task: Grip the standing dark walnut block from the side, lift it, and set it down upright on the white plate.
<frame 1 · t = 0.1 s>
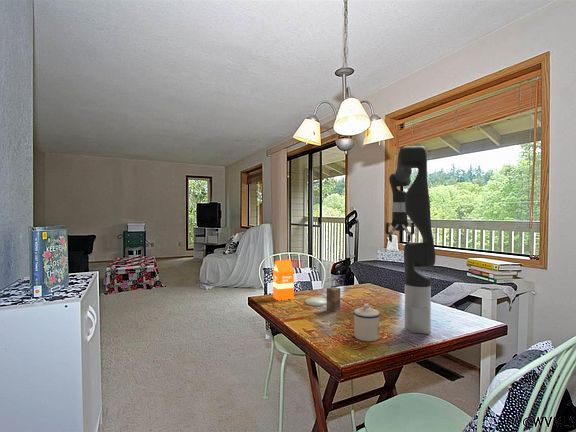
hand: (399, 242, 164), 29 cm above the table, tool pointing down, fingers open, 8 cm apart
teacup with lid: (364, 335, 115), on the table
walnut block: (333, 309, 145), on the table
orange juice: (283, 298, 165), on the table
white plate: (316, 302, 156), on the table
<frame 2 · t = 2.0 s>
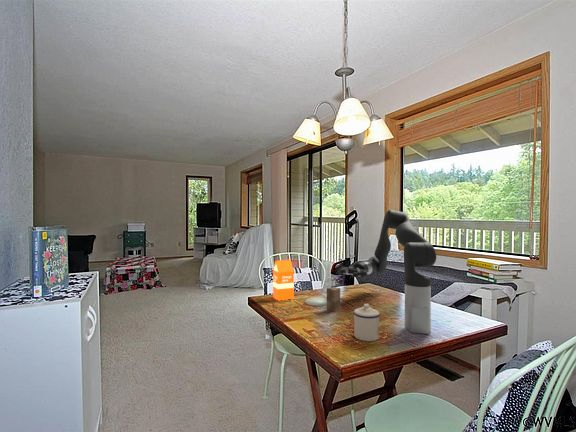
hand: (346, 273, 153), 15 cm above the table, tool horizontal, fingers open, 8 cm apart
nothing on the table moved.
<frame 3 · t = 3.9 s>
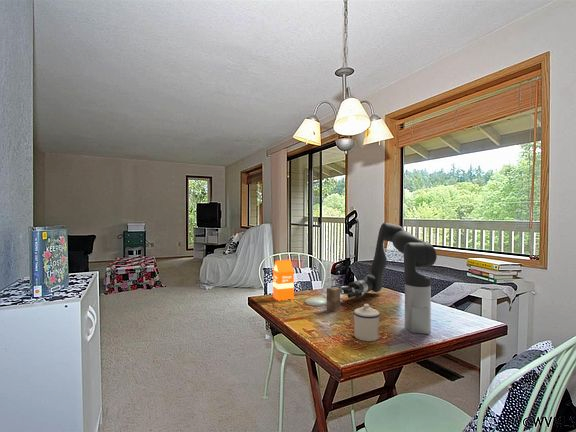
hand: (340, 294, 149), 6 cm above the table, tool horizontal, fingers open, 8 cm apart
nothing on the table moved.
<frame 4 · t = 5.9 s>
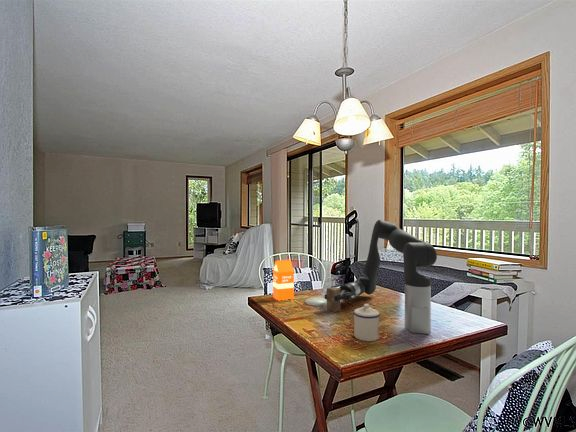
hand: (330, 298, 142), 6 cm above the table, tool horizontal, fingers closed on walnut block, 4 cm apart
walnut block: (333, 309, 145), on the table, touching gripper
everything else where it was.
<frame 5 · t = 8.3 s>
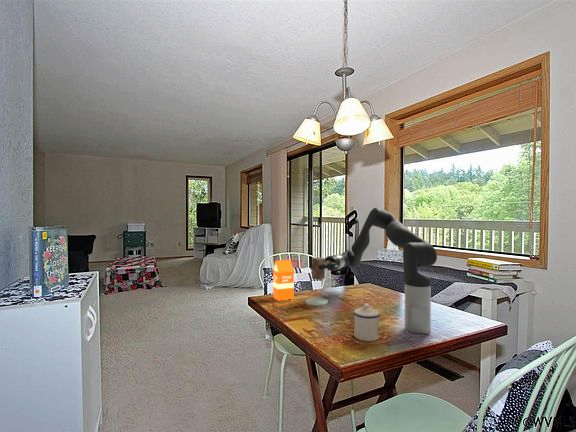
hand: (315, 267, 153), 18 cm above the table, tool horizontal, fingers closed on walnut block, 4 cm apart
walnut block: (318, 278, 156), point 12 cm above the table, touching gripper
everything else where it was.
when the fingers open (8 cm above the table, at t = 10.7 s): walnut block stays where it is, resting on white plate.
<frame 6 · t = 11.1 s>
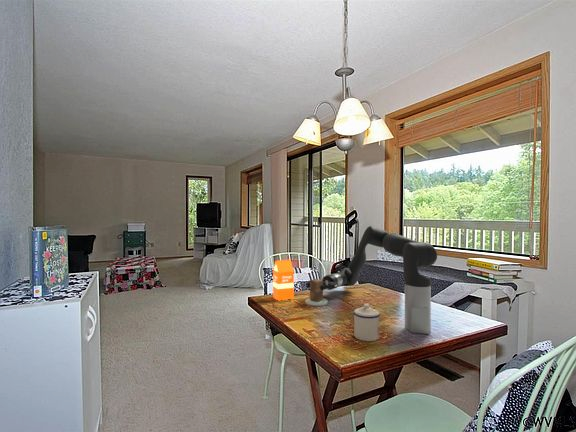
hand: (314, 286, 155), 8 cm above the table, tool horizontal, fingers open, 8 cm apart
walnut block: (316, 300, 156), point 1 cm above the table, touching white plate
everything else where it was.
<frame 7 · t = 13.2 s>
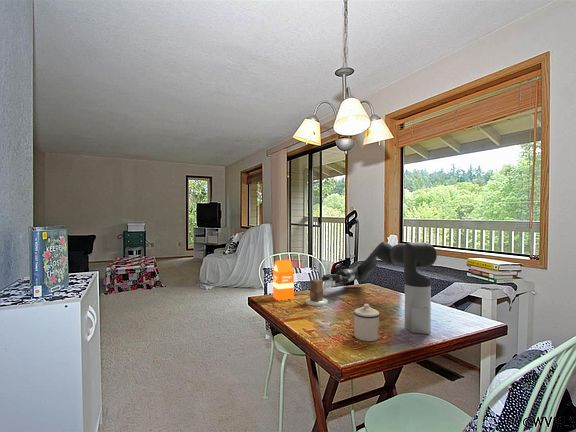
hand: (329, 280, 164), 9 cm above the table, tool horizontal, fingers open, 8 cm apart
nothing on the table moved.
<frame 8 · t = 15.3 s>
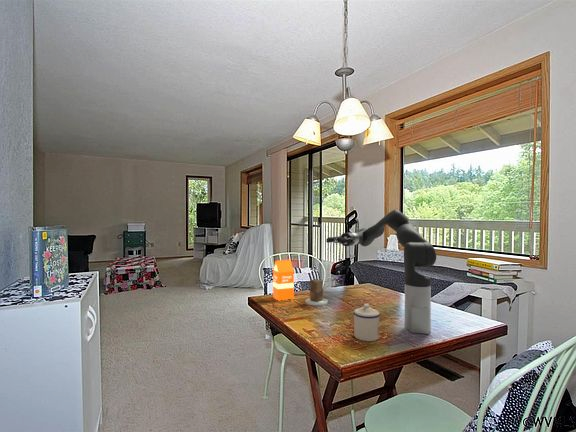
hand: (333, 241, 163), 30 cm above the table, tool horizontal, fingers open, 8 cm apart
nothing on the table moved.
at the end: walnut block inside the target area on the white plate (0.1 cm from its centre), point 1.2 cm above the white plate's base; walnut block tilted 0°; the gripper is holding nothing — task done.
